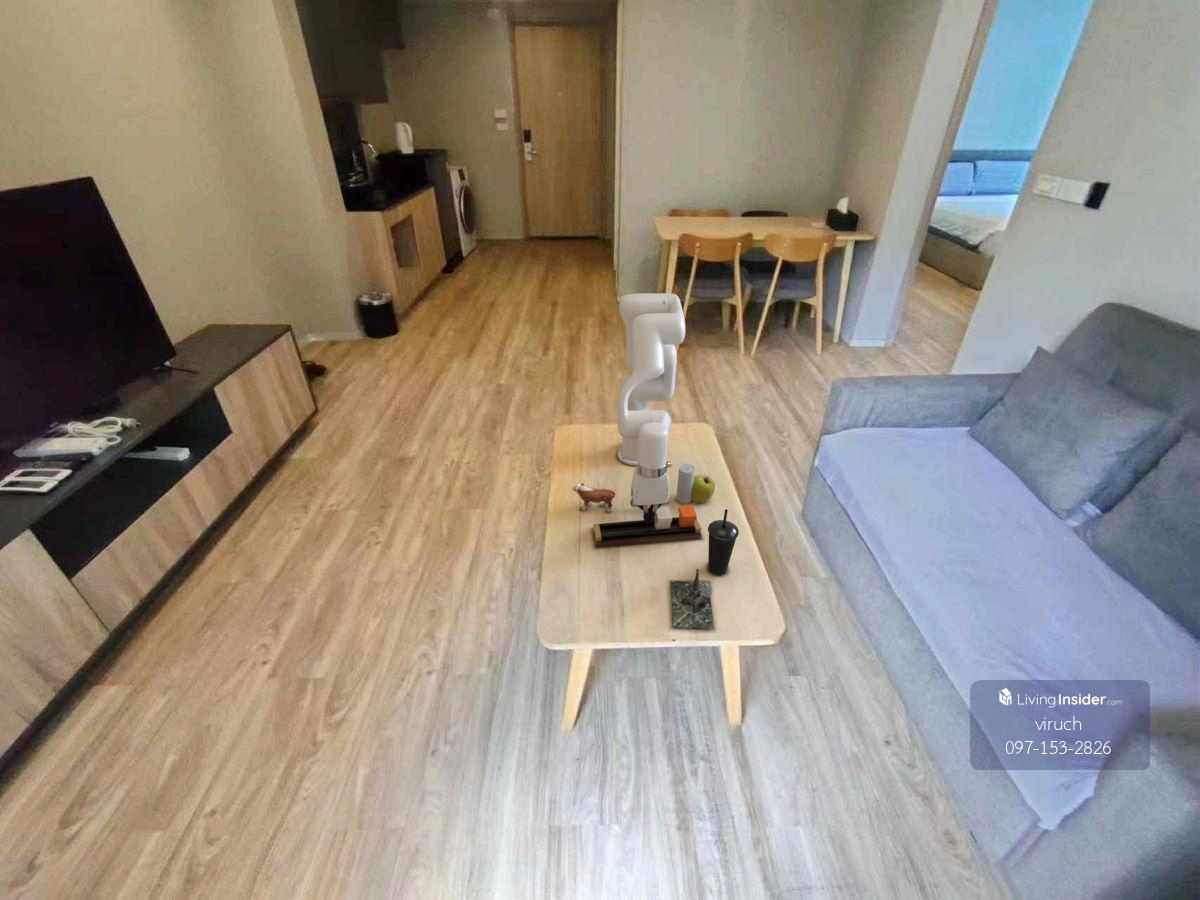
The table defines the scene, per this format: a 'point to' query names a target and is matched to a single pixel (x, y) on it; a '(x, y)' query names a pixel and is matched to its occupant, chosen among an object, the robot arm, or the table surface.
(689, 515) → the orange rectangular block
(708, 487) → the apple
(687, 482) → the beverage can
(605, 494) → the bull figurine
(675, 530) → the rails
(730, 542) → the drinking cup
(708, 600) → the eiffel tower figurine
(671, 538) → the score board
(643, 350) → the robot arm
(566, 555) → the table surface
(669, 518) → the white boxy piece
